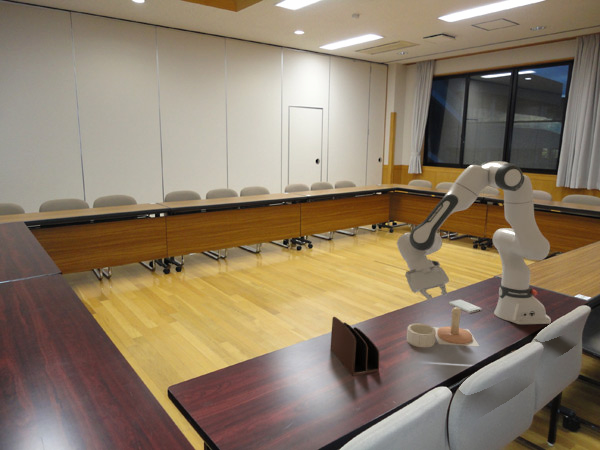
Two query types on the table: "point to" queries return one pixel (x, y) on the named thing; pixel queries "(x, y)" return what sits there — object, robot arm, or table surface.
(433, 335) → the bowl
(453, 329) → the salmon dome
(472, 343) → the mat
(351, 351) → the letter holder
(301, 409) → the table surface
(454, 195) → the robot arm
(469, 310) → the hard drive
